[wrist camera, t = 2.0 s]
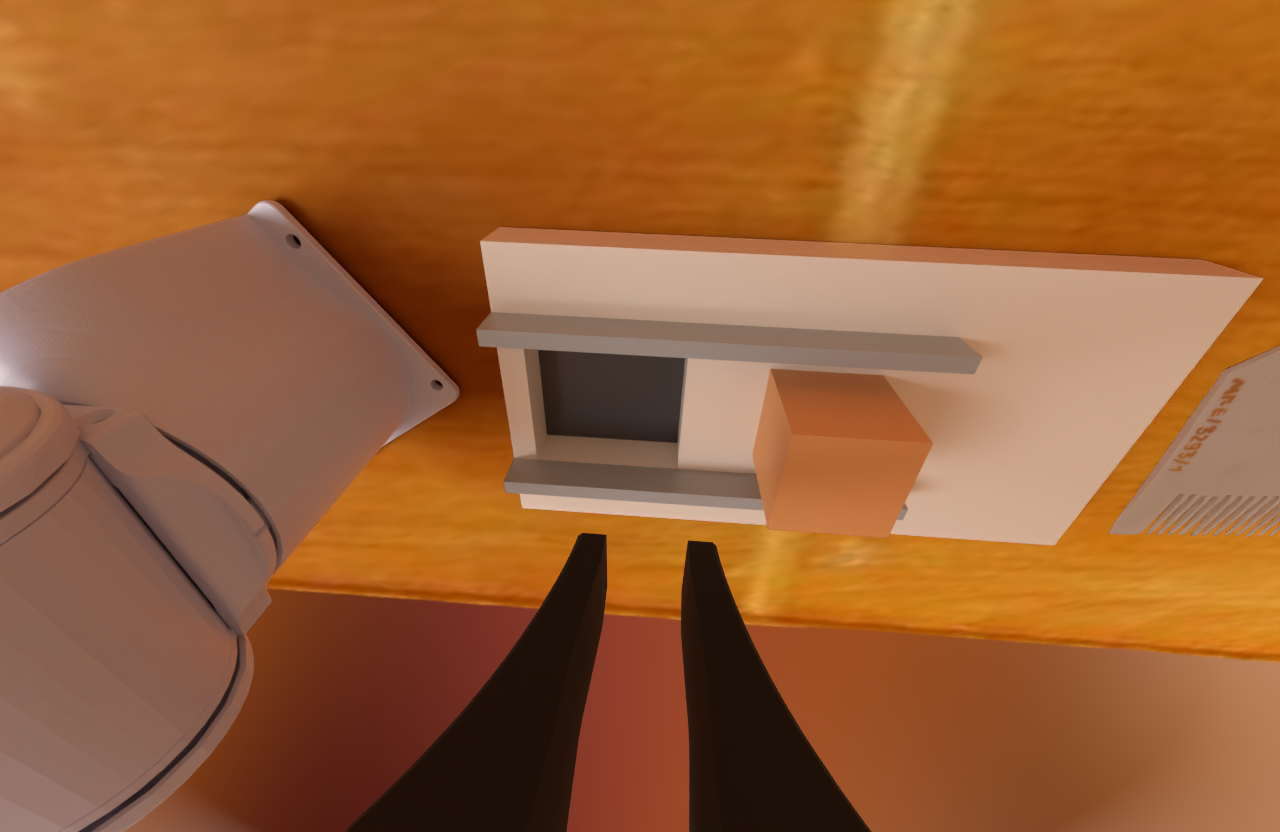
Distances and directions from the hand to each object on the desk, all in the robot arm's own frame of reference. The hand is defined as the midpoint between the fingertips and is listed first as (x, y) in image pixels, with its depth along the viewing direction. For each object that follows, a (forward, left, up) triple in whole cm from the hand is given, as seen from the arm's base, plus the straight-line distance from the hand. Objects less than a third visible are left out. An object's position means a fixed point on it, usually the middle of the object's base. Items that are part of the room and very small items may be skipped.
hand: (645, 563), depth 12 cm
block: (+3, +5, -7) cm, 10 cm away
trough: (+3, +5, -9) cm, 11 cm away
